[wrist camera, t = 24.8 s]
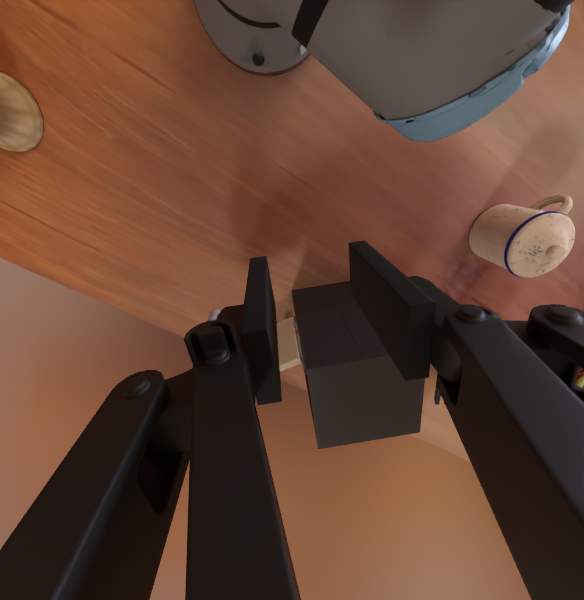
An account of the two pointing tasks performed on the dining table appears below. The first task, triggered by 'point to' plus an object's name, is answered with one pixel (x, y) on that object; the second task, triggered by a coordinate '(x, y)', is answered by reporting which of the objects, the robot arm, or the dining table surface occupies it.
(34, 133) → the hand bell
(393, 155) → the dining table surface
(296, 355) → the chamber door
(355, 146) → the dining table surface
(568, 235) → the teacup with lid
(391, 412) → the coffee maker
